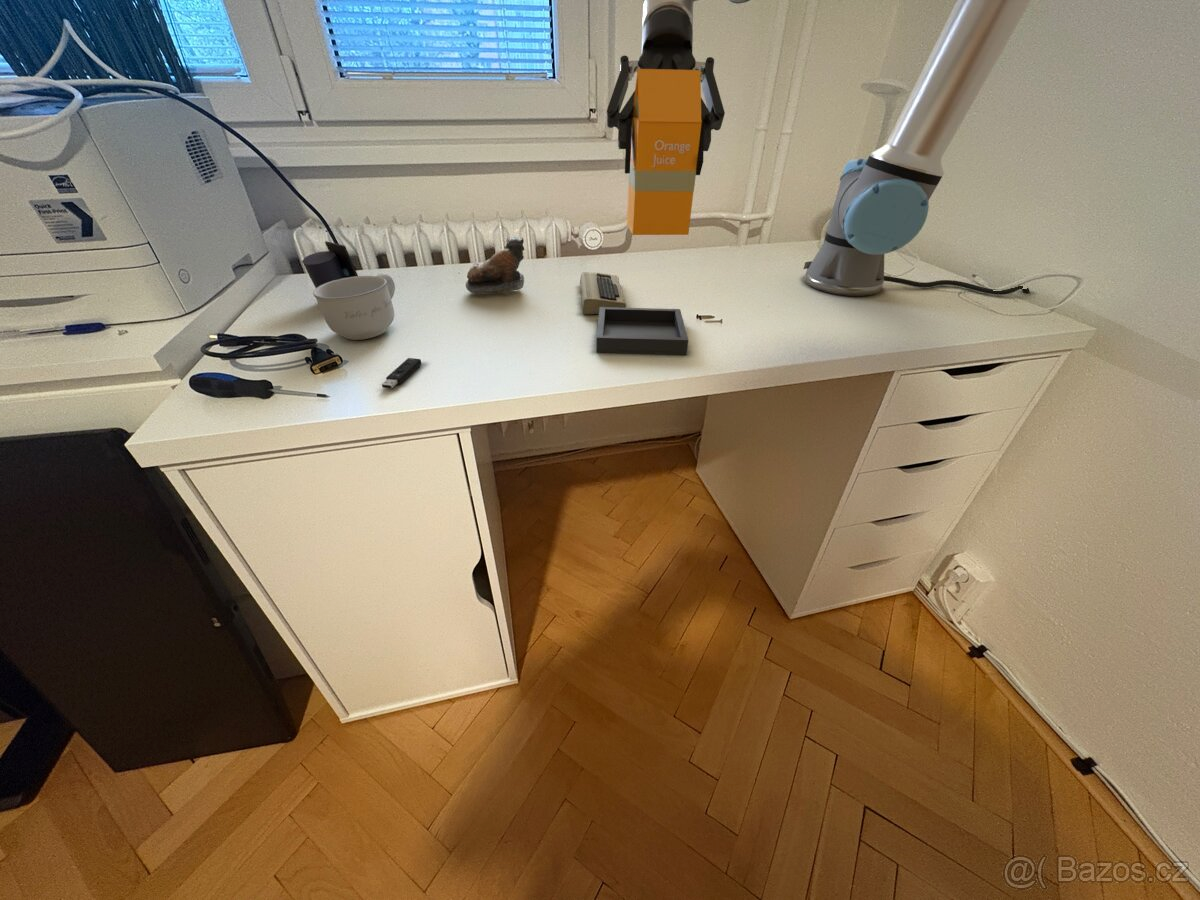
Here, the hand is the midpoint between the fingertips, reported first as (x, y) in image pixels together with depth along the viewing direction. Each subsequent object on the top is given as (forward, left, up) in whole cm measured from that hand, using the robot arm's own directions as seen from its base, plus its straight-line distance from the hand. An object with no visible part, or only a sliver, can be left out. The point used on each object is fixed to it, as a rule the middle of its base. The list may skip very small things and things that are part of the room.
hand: (663, 167), depth 69 cm
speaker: (+58, -8, -24) cm, 63 cm away
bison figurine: (+30, -16, -24) cm, 42 cm away
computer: (+9, -13, -24) cm, 29 cm away
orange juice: (0, -3, -9) cm, 10 cm away
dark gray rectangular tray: (+2, +4, -24) cm, 24 cm away
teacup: (+47, +4, -24) cm, 53 cm away
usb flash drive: (+36, +20, -24) cm, 48 cm away
